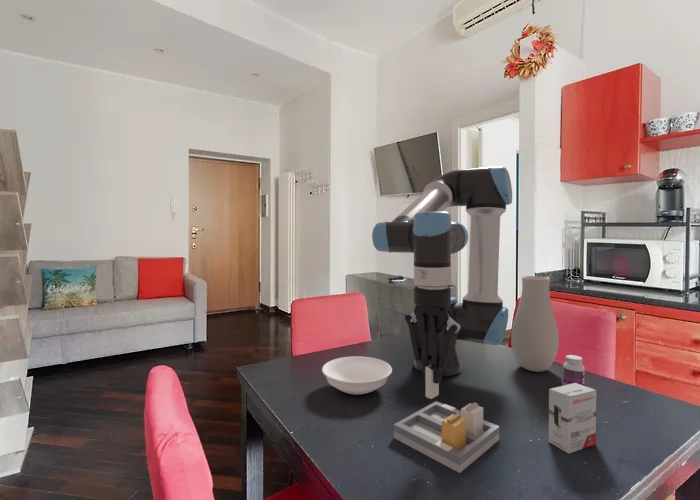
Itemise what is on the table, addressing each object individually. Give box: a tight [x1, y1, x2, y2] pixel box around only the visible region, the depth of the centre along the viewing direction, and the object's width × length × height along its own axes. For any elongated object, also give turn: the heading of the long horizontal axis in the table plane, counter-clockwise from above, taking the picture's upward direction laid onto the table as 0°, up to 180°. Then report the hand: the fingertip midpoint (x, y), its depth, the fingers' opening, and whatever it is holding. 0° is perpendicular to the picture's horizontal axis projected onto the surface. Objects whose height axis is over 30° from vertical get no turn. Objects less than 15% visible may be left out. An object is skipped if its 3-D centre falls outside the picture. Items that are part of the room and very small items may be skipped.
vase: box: [510, 275, 560, 373], centre depth 119 cm, size 14×14×30 cm
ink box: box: [548, 383, 597, 455], centre depth 77 cm, size 8×5×12 cm, turn 112°
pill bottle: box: [561, 354, 586, 386], centre depth 103 cm, size 5×5×10 cm
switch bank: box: [393, 401, 500, 474], centre depth 79 cm, size 16×16×3 cm
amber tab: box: [442, 414, 466, 451], centre depth 74 cm, size 3×4×6 cm
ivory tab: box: [460, 402, 484, 436], centre depth 79 cm, size 3×4×6 cm
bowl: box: [321, 355, 393, 396], centre depth 104 cm, size 20×20×6 cm
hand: (432, 395), depth 78 cm, fingers closed
